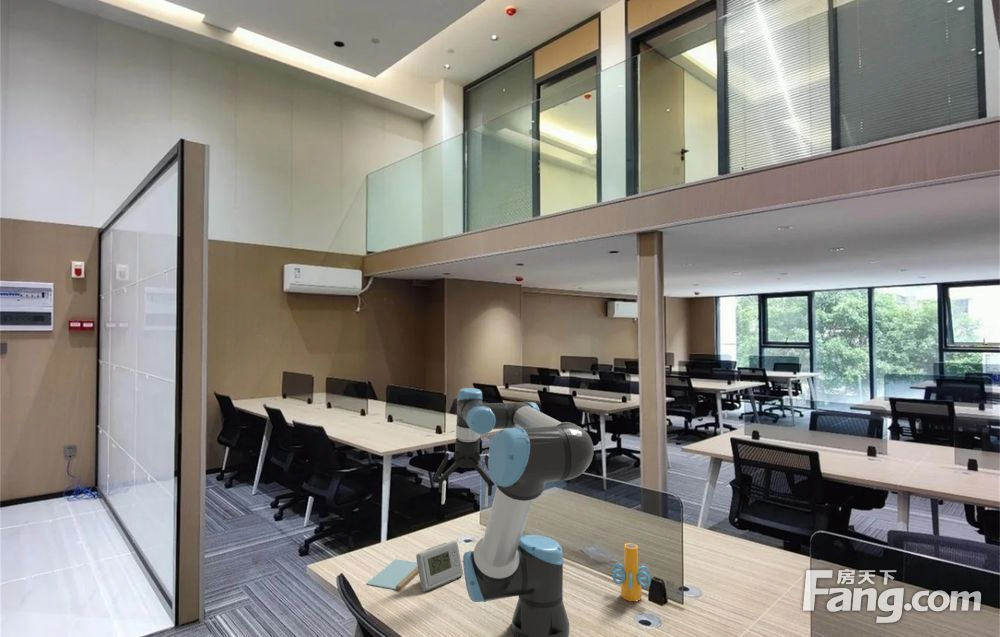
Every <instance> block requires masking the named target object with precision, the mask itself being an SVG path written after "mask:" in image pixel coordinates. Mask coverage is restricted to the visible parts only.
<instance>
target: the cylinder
mask: <svg viewBox="0 0 1000 637" xmlns="http://www.w3.org/2000/svg"><path fill="white" fill-rule="evenodd" d="M623 549H624V551H623V553H624V554H623V555H624V556H623V558H624V559H623V560H624V561H623V562H624V563H623V564H624V565H622V563H619V562H615V563H614V564H613V566H612V571H613V572H612V580H613V582H614V583H615V584H617V585H619V584H620V596H621V598H622V597H623V598H624V599H623V598H622V599H623V600H625V599H626V600H625V601H627V600H629V601H628V602H630V601H636V600H639V599H641V600H642V598H641V597H642V595H643V592H642V590H643V588H648V587H650V585H651V583H652V582H651V578H650V569H649V568H648V567H647V566H646V565H641V566H639V546H638V545H637V544H635V543H632V542H631V543H630V542H628V543H624V547H623ZM616 567H620V568H617V569H616ZM642 570H645V571H646V572H645V571H642ZM619 573H622V574H619ZM641 575H643V576H644V577H641ZM616 577H617V578H618V579H620V580H617V579H616ZM642 581H647V583H643V582H642ZM642 587H643V588H642Z"/></svg>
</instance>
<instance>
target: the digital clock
mask: <svg viewBox="0 0 1000 637" xmlns="http://www.w3.org/2000/svg"><path fill="white" fill-rule="evenodd" d="M416 562H417V565H418V571H419V573H418V575H419V582H420V587H421V590H422V591H423V592H427V591H430V590H435V589H436V588H439V587H442V586H443V585H444V586H445V585H447V584H448V583H450V582H453V581H455V580H456V579H458V578H461V577H462V576H464V567H463V563H462V559H461V554H460V548H459V543H458V541H457V540H456V539H455V540H451V541H449V542H444V543H441V544H438V545H435V546H432V547H430V548H428V549H426V550H424V551H421V552H418V553H417V554H416Z"/></svg>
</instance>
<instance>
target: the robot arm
mask: <svg viewBox="0 0 1000 637" xmlns="http://www.w3.org/2000/svg"><path fill="white" fill-rule="evenodd" d="M456 401H457V402H456V404H457V407H456V408H457V409H456V423H455V424H456V426H455V427H456V428H455V437H456V438H455V446H454V447H455V448H454V449H455V451H454V452H452V451H450V450H446V451H445V453H444V457H443V460H442V461H441V463H440V465H439V467H438V468H437V470H436V473H435V474H434V476H433V479H432V480H433V481H434V482H437V483H438V493H439V494H441V505H444V504H445V503H446V502H445V501H446V487H447V486H446V485H447V481H446V479H448V478H449V477H450V475H452V473H454V471H456V470H457V469H458V468H459V467H460V468H461V469H465V468H466V469H474V470H475V471H476V472H477V473H478V474H479V476H480V477H481V478H482V479H483V481H484V482H485V483H486V484H485V493H484V494H485V496H484V497H485V498H484V507H485V508H488V502H489V497H491V496H492V495H493V486H495V487H496V490H495V494H494V497H493V502H492V504H491V509H490V512H489V516H488V520H487V523H486V528H485V532H484V535H483V537H482V538H480V539H479V540H478V541H477V542H476V544H475V546H474V549H473V550H469V551H466V552H465V553H463V557H462V562H463V563H462V568H463V576H464V580H465V585H466V586H465V587H466V591H467V594H468V597H469V599H470V600H471V602H473V603H482V602H483V603H487V602H490V601H495V600H500V599H507V598H512V597H518V599H517V603H516V606H515V608H514V612H513V614H512V615H513V616H512V618H511V631H512V634H513V636H514V637H569V636H570V621H569V617H568V613H567V611H566V607H565V604H564V600H563V599H564V598H563V597H564V595H563V594H564V593H563V592H564V588H563V587H564V586H563V585H564V557H563V556H564V554H563V549H562V548H563V547H562V546H561V545H560V543H559V542H558V541H557V540H554V539H553V538H550V537H548V536H544V535H539V534H538V535H537V534H526V535H523V532H524V529H525V526H526V522H527V519H528V517H529V513H530V511H531V507H532V504H533V501H534V500H537V498H539V497H540V496H541V495H542V493H543V492H544V489H545V486H546V485H547V484H546V483H553V482H563V481H569V480H572V479H573V480H574V479H576V478H577V477H580V476H581V475H582V474H584V472H585V471H586V470H587V469H588V468H589V466H590V465H591V463H592V461H593V459H594V458H593V457H594V444H593V441H592V440H593V439H592V438H591V436H590V434H589V433H588V432H587V431H586V429H584V428H582V427H581V426H578V425H577V424H575V423H574V422H573V423H572V422H567V421H565V422H561V421H559V420H557V419H555V418H553V417H551V416H549V415H547V414H545V413H543V412H542V411H540V410H541V409H540V408H539V406H538V404H537V403H536V402H531V401H529V402H528V401H523V402H522V401H521V402H498V403H497V402H494V403H492V402H491V403H483V392H482V390H481V389H478V388H475V387H463V388H461V389H459V390H458V393H457V399H456ZM492 430H499V431H498V432H496V433H495V434H494V436H493V437H492V439H491V441H490V443H489V444H490V445H489V447H488V448H489V449H488V452H486V453H484V454H480V444H481V442H480V441H481V440H480V438H481V435H486V434H488V433H490V432H491V431H492ZM452 458H453V459H454V462H453V464H452V465H451V466H450V467H449V468H447V470H446V471H445V472H443V470H444V469H445V467H446V465H447V463H448V461H449V460H451V459H452ZM480 460H482V462H484V463H485V466H486V469H487V471H488V473H489V474H488V473H487V472H486V471H485V470H484V468H483V467H482V466H481V464H480V463H479V461H480ZM442 473H443V474H442ZM440 475H441V476H440ZM522 535H523V536H522Z"/></svg>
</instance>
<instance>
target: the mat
mask: <svg viewBox="0 0 1000 637" xmlns="http://www.w3.org/2000/svg"><path fill="white" fill-rule="evenodd" d="M417 575H419V571H418V565H417V561H412V560H411V561H410V560H404V559H398V558H397V559H396V558H395V559H394V560H392V561H391V562H390V563H389V564H388V565H386V566H385V567H384V568H383V569H382V570H381V571H379V572H378V573H377V574H376V575H375V576H373V577H372V578H371V579H369V581H367V582H366V585H367V584H368V586H374V587H378V588H383V587H384V589H389V590H393V591H402V590H403V589H404V588H405V587H406V586H407V585H408V584H409V583H410V582H411V581H412V580H414V578H415V577H417Z"/></svg>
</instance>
